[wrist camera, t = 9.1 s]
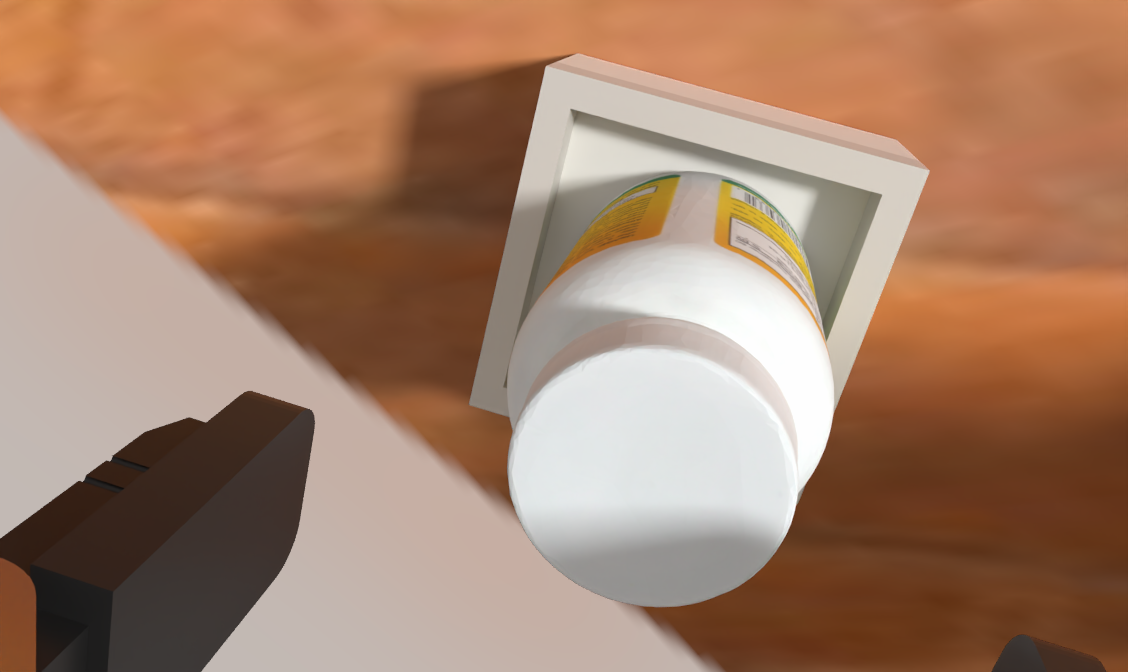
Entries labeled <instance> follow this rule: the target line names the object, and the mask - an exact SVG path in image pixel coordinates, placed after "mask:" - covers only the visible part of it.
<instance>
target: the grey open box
mask: <svg viewBox="0 0 1128 672" xmlns="http://www.w3.org/2000/svg"><path fill="white" fill-rule="evenodd" d="M685 171H696V172H708V173H714V174H719V175H723V176H726V177H730V178H732V179H735V180H737V181H740V182H742V183H744V184H746V185H748V186H750V187H752V188H753V189H755V190H757V191H758V192H760V193H761V194H762V195H764V196H765V197H766V198H768V199H769V200H770V201H771V202H772V203H773V204H774V205H775V206H777V208H778V209H779V210H780V211H781V212H782V213H783V214H784V215H785V217H786V218H787V219H788V220H789V222H790V223H791V225H792V226H793V228H794V230H795V231H796V233H797V235H798V237H799V239H800V241H801V243H802V246H803V249H804V252H805V254H806V257H807V261H808V264H809V268H810V272H811V277H812V281H813V284H814V291H815V295H816V300H817V305H818V309H819V313H820V316H821V321H822V326H823V330H824V335H825V339H826V343H827V348H828V351H829V355H830V362H831V368H832V375H833V382H834V410H833V414H834V411H835V409H836V406H837V404H838V401H839V399H840V396H841V394H842V391H843V389H844V386H845V384H846V381H847V379H848V376H849V373H850V371H851V368H852V366H853V363H854V361H855V358H856V356H857V353H858V351H859V348H860V346H861V343H862V341H863V338H864V336H865V333H866V331H867V328H868V325H869V323H870V320H871V318H872V315H873V313H874V310H875V308H876V305H877V303H878V300H879V298H880V295H881V293H882V290H883V288H884V285H885V283H886V280H887V277H888V275H889V272H890V270H891V267H892V265H893V262H894V260H895V257H896V255H897V252H898V250H899V247H900V245H901V242H902V240H903V237H904V235H905V232H906V230H907V227H908V224H909V222H910V219H911V217H912V214H913V212H914V209H915V207H916V204H917V202H918V199H919V197H920V194H921V192H922V189H923V187H924V184H925V182H926V179H927V176H928V174H929V171H930V170H928V169H927V168H926V167H925V166H924V165H923V164H922V163H921V162H920V161H919V160H918V159H917V158H916V157H914V156H913V155H912V154H911V153H910V152H909V151H908V150H907V149H906V148H905V147H904V146H903V145H902V144H900V143H899V142H898V141H897V140H895V139H892V138H888V137H884V136H881V135H877V134H873V133H870V132H866V131H862V130H859V129H855V128H851V127H847V126H844V125H840V124H836V123H833V122H829V121H825V120H822V119H818V118H814V117H811V116H807V115H803V114H800V113H796V112H792V111H789V110H785V109H781V108H777V107H774V106H770V105H766V104H763V103H759V102H755V101H752V100H748V99H744V98H741V97H737V96H733V95H730V94H726V93H722V92H718V91H715V90H711V89H707V88H704V87H700V86H696V85H693V84H689V83H685V82H682V81H678V80H674V79H671V78H667V77H663V76H660V75H656V74H652V73H648V72H645V71H641V70H637V69H634V68H630V67H626V66H623V65H619V64H615V63H612V62H608V61H604V60H601V59H597V58H593V57H589V56H586V55H582V54H578V53H577V54H575V55H572V56H570V57H567V58H565V59H562V60H560V61H557V62H555V63H552V64H550V65H547V66H546V68H545V72H544V77H543V81H542V86H541V90H540V94H539V99H538V103H537V108H536V112H535V116H534V121H533V125H532V130H531V134H530V138H529V143H528V147H527V151H526V156H525V160H524V165H523V169H522V173H521V178H520V182H519V187H518V191H517V195H516V200H515V204H514V209H513V213H512V217H511V222H510V226H509V230H508V235H507V239H506V244H505V248H504V252H503V257H502V261H501V266H500V270H499V274H498V279H497V283H496V288H495V292H494V296H493V301H492V305H491V309H490V314H489V318H488V323H487V327H486V331H485V336H484V340H483V345H482V349H481V353H480V358H479V362H478V367H477V371H476V375H475V380H474V384H473V389H472V393H471V397H470V402H469V405H471V406H474V407H477V408H481V409H484V410H487V411H490V412H494V413H497V414H500V415H504V416H507V417H509V410H508V401H507V377H508V368H509V363H510V358H511V354H512V350H513V347H514V344H515V341H516V338H517V336H518V334H519V331H520V329H521V327H522V324H523V322H524V321H525V319H526V317H527V315H528V313H529V312H530V310H531V309H532V307H533V306H534V304H535V303H536V301H537V299H538V298H539V296H540V295H541V294H542V292H543V291H544V290H545V288H546V287H547V285H548V284H549V282H550V281H551V280H552V278H553V277H554V275H555V274H556V272H557V271H558V270H559V268H560V267H561V265H562V264H563V262H564V261H565V260H566V258H567V257H568V255H569V254H570V252H571V251H572V249H573V248H574V246H575V245H576V243H577V242H578V240H579V239H580V237H581V236H582V235H583V233H584V231H585V230H586V229H587V227H588V226H589V225H590V223H591V222H592V221H593V219H594V218H595V217H596V216H597V215H598V213H599V212H600V211H601V210H602V209H603V208H604V207H605V206H606V205H607V204H608V203H610V202H611V201H612V200H613V199H614V198H616V197H617V196H618V195H620V194H621V193H623V192H624V191H626V190H627V189H629V188H631V187H632V186H634V185H636V184H638V183H640V182H643V181H645V180H647V179H650V178H652V177H656V176H659V175H663V174H668V173H675V172H685ZM805 485H806V484H805ZM805 485H804V486H803V488H802V489H801V490H800V491H799V493H798V496H797V502H796V504H798V502H799V500H800V497H801V495H802V492H803V490H804V487H805Z"/></svg>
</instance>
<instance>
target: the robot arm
mask: <svg viewBox="0 0 1128 672" xmlns="http://www.w3.org/2000/svg"><path fill="white" fill-rule="evenodd" d="M314 425H315V420H314V414H313V412H312V410H310V409H307V408H304V407H301V406H297V405H294V404H291V403H287V402H285V401H281V400H278V399H275V398H272V397H269V396H265V395H262V394H259V393H256V392H253V391H247V392H244V393H243V394H242V395H240V396H239V397H238V398H236V399H235V400H234V401H233V402H231V403H230V404H229V405H228V406H226V407H225V408H224V409H223V410H221V411H220V412H219V413H218V414H216V415H215V416H214V417H213V418H211V419H210V420H209V421H208V422H206V423H205V422H202V421H199V420H196V419H193V418H186V419H183V420H180V421H177V422H174V423H171V424H168V425H165V426H162V427H159V428H156V429H153V430H150V431H147V432H144V433H143V434H142V435H140V436H139V437H138V438H136V439H135V440H133V441H132V442H131V443H129V444H128V445H127V446H125V447H124V448H123V449H121V450H120V451H119V452H117V453H116V454H115V455H113V457H112V460H111V461H110V462H109V461H105V462H104V463H102V464H101V465H100V466H98V467H97V468H96V469H94V470H93V471H91V472H90V473H89V474H87V475H86V478H85V480H84V481H83V482H81V481H78V482H76V483H75V484H74V485H73V486H71V487H70V488H68V489H67V490H66V491H64V492H63V493H62V494H60V495H59V496H58V497H56V498H55V499H53V500H52V501H51V502H49V503H48V504H47V505H45V506H44V507H43V508H41V509H40V510H39V511H37V512H36V513H35V514H33V515H32V516H31V517H29V518H28V519H26V520H25V521H24V522H22V523H21V524H19V525H18V526H17V527H15V528H14V529H13V530H11V531H10V532H9V533H7V534H6V535H5V536H3V537H2V538H0V672H201V671H202V670H203V668H204V667H205V666H206V665H207V663H208V662H209V661H210V660H211V658H212V657H213V656H214V655H215V653H216V652H217V651H218V650H219V648H220V647H221V646H222V645H223V643H224V642H225V641H226V639H227V638H228V637H229V636H230V635H231V633H232V632H233V631H234V630H235V628H236V627H237V626H238V625H239V623H240V622H241V621H242V620H243V618H244V617H245V616H246V615H247V613H248V612H249V611H250V610H251V608H252V607H253V606H254V605H255V603H256V602H257V601H258V600H259V598H260V597H261V596H262V594H263V593H264V592H265V591H266V590H267V588H268V587H269V586H270V585H271V583H272V582H273V581H274V580H275V578H276V577H277V575H278V574H279V572H280V571H281V569H282V568H283V566H284V564H285V562H286V560H287V558H288V556H289V553H290V551H291V549H292V546H293V543H294V541H295V538H296V534H297V531H298V527H299V521H300V516H301V509H302V503H303V497H304V491H305V484H306V478H307V472H308V465H309V460H310V453H311V447H312V441H313V434H314ZM992 672H1106V670H1105V668H1104V667H1103V665H1102V663H1101V662H1100V661H1099V660H1098V659H1097V658H1095V657H1093V656H1091V655H1087V654H1084V653H1081V652H1078V651H1075V650H1071V649H1068V648H1065V647H1062V646H1059V645H1055V644H1052V643H1049V642H1046V641H1043V640H1039V639H1036V638H1033V637H1030V636H1027V635H1018V636H1016V637H1014V638H1013V639H1012V640H1011V641H1009V643H1008V644H1007V645H1006V646H1005V648H1004V650H1003V651H1002V653H1001V655H1000V657H999V659H998V661H997V662H996V664H995V666H994V668H993V670H992Z"/></svg>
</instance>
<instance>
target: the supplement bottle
mask: <svg viewBox="0 0 1128 672" xmlns="http://www.w3.org/2000/svg"><path fill="white" fill-rule="evenodd" d="M507 401H508V410H509V417H510V421H511V426H512V429H513V433H512V437H511V441H510V446H509V452H508V464H507V474H508V481H509V490H510V496H511V499H512V502H513V505H514V508H515V511H516V514H517V516H518V518H519V521H520V523H521V525H522V527H523V529H524V531H525V533H526V534H527V536H528V538H529V539H530V541H531V542H532V543H533V545H534V546H535V547H536V549H537V550H538V551H539V552H540V553H541V554H542V556H543V557H544V558H545V559H546V560H547V561H548V562H549V563H550V564H552V566H554V567H555V568H556V569H557V570H558V571H560V572H561V573H562V574H564V575H565V576H566V577H567V578H569V579H570V580H572V581H573V582H575V583H576V584H578V585H580V586H582V587H584V588H586V589H588V590H590V591H592V592H593V593H596V594H598V595H601V596H603V597H606V598H608V599H611V600H615V601H619V602H623V603H627V604H633V605H639V606H652V607H675V606H684V605H690V604H694V603H698V602H702V601H705V600H708V599H711V598H714V597H716V596H719V595H721V594H724V593H726V592H729V591H731V590H733V589H735V588H737V587H738V586H740V585H741V584H743V583H744V582H746V581H747V580H749V579H750V578H751V577H753V576H754V575H755V574H756V573H757V572H758V571H759V570H760V569H761V568H763V567H764V565H765V564H766V563H767V562H768V561H769V560H770V559H771V557H772V556H773V555H774V554H775V552H776V551H777V549H778V547H779V546H780V544H781V543H782V541H783V539H784V538H785V536H786V534H787V532H788V529H789V527H790V525H791V522H792V519H793V516H794V512H795V507H796V502H797V496H798V493H799V491H800V490H801V489H802V488H803V486H804V485H805V484H806V482H807V481H808V480H809V478H810V477H811V475H812V474H813V472H814V470H815V468H816V467H817V465H818V463H819V461H820V459H821V456H822V454H823V452H824V449H825V447H826V443H827V440H828V437H829V434H830V429H831V424H832V419H833V410H834V382H833V375H832V368H831V362H830V355H829V351H828V348H827V343H826V339H825V335H824V330H823V326H822V321H821V316H820V313H819V309H818V305H817V300H816V295H815V291H814V284H813V281H812V277H811V272H810V268H809V264H808V261H807V257H806V254H805V252H804V249H803V246H802V243H801V241H800V239H799V237H798V235H797V233H796V231H795V230H794V228H793V226H792V225H791V223H790V222H789V220H788V219H787V218H786V217H785V215H784V214H783V213H782V212H781V211H780V210H779V209H778V208H777V206H775V205H774V204H773V203H772V202H771V201H770V200H769V199H768V198H766V197H765V196H764V195H762V194H761V193H760V192H758V191H757V190H755V189H753V188H752V187H750V186H748V185H746V184H744V183H742V182H740V181H737V180H735V179H732V178H730V177H726V176H723V175H719V174H714V173H708V172H696V171H685V172H675V173H668V174H663V175H659V176H656V177H652V178H650V179H647V180H645V181H643V182H640V183H638V184H636V185H634V186H632V187H631V188H629V189H627V190H626V191H624V192H623V193H621V194H620V195H618V196H617V197H616V198H614V199H613V200H612V201H611V202H610V203H608V204H607V205H606V206H605V207H604V208H603V209H602V210H601V211H600V212H599V213H598V215H597V216H596V217H595V218H594V219H593V221H592V222H591V223H590V225H589V226H588V227H587V229H586V230H585V231H584V233H583V235H582V236H581V237H580V239H579V240H578V242H577V243H576V245H575V246H574V248H573V249H572V251H571V252H570V254H569V255H568V257H567V258H566V260H565V261H564V262H563V264H562V265H561V267H560V268H559V270H558V271H557V272H556V274H555V275H554V277H553V278H552V280H551V281H550V282H549V284H548V285H547V287H546V288H545V290H544V291H543V292H542V294H541V295H540V296H539V298H538V299H537V301H536V303H535V304H534V306H533V307H532V309H531V310H530V312H529V313H528V315H527V317H526V319H525V321H524V322H523V324H522V327H521V329H520V331H519V334H518V336H517V338H516V341H515V344H514V347H513V350H512V354H511V358H510V363H509V368H508V377H507Z"/></svg>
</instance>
